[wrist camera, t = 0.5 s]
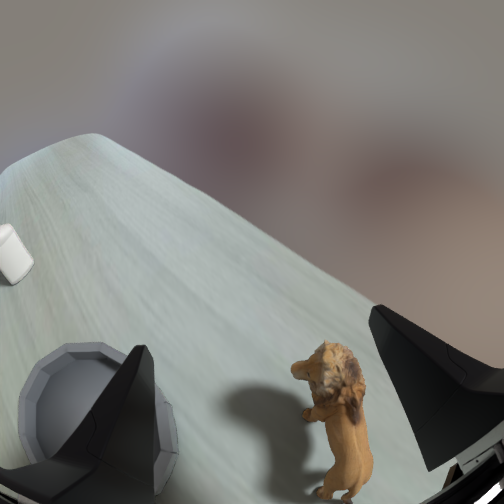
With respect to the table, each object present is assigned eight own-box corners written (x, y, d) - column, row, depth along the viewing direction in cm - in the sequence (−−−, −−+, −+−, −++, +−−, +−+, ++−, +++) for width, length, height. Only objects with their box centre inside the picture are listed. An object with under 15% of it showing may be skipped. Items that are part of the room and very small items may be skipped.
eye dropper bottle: (34, 275, 30) (-5, 212, 21) (9, 288, 28) (-33, 231, 19) (35, 255, 33) (1, 195, 24) (11, 268, 31) (-25, 212, 22)
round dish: (193, 513, 14) (187, 519, 12) (39, 490, 11) (24, 489, 10) (167, 348, 25) (161, 337, 23) (37, 353, 23) (25, 343, 21)
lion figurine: (276, 380, 24) (290, 343, 17) (327, 364, 25) (359, 322, 18) (322, 515, 14) (360, 537, 7) (375, 491, 15) (431, 495, 8)
